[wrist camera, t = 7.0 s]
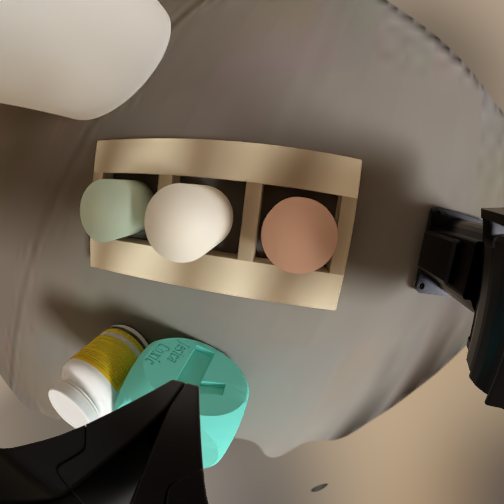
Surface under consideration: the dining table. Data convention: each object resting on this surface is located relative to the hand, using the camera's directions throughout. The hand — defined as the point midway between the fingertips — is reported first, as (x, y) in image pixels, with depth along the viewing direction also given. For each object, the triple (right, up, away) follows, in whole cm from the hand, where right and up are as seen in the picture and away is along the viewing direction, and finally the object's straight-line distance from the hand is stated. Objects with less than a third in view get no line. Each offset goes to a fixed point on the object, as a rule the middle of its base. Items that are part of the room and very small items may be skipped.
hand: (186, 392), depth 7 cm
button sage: (-7, +8, +12) cm, 16 cm away
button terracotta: (+5, +6, +11) cm, 13 cm away
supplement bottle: (-9, -5, +15) cm, 19 cm away
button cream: (-1, +7, +10) cm, 12 cm away
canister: (-11, +22, +10) cm, 27 cm away
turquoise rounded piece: (-3, -7, +15) cm, 17 cm away
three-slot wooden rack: (-1, +7, +12) cm, 13 cm away
